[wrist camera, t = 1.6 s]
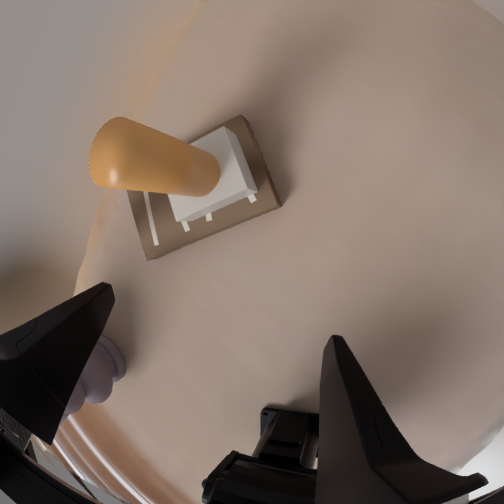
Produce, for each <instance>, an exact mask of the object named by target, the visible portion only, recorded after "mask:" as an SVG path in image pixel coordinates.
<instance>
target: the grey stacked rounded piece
mask: <svg viewBox="0 0 504 504" xmlns="http://www.w3.org/2000/svg"><path fill="white" fill-rule="evenodd" d="M125 371H126V368H125V362H124V359H123V357H122V355H121V353H120V351H119V349H118V348H117V347H116V345H115V344H114V343H113V342H112V341H111V340H110V339H108V338H106V337H105V336H100V338H99V339H98V341H97V343H96V345H95V347H94V349H93V351H92V353H91V355H90V357H89V359H88V361H87V363H86V365H85V367H84V369H83V371H82V373H81V375H80V378H79V380H78V382H77V384H76V386H75V388H74V391H73V393H72V395H71V397H70V400H69V402H68V404H67V407H66V409H65V412H64V414H63V416H62V419H61V421H60V424H59V425H61V424H62V423H63V421H64V420H65V419H66V418H67V417H68V415H69V414H72V413H75V412H77V411H78V410H80V408H81V407H82V405H83V403H84V401H86V402H88V403H101V402H104V401H105V400H106V399H107V398H108V397H109V396H110V394H111V392H112V386H113V383H114V382H117V381H118V380H120V379H121V378H123V376H124V375H125Z"/></svg>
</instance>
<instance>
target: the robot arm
mask: <svg viewBox="0 0 504 504" xmlns="http://www.w3.org/2000/svg"><path fill="white" fill-rule="evenodd" d="M114 303H115V297H114V293H113V289H112V286H111V284H108V283H105V282H101V283H99V284H97V285H95V286H93V287H92V288H90V289H88V290H86V291H84V292H82V293H80V294H78V295H76V296H74V297H72V298H71V299H69V300H67V301H65V302H63V303H61V304H60V305H58V306H56V307H54V308H52V309H50V310H48V311H47V312H45V313H43V314H41V315H39V317H36V318H34V319H32V320H30V321H28V322H27V323H25V324H23V325H21V326H19V327H17V328H15V329H12V330H10V331H8V332H6V333H4V334H1V335H0V489H1V490H2V491H3V492H4V493H5V494H7V495H8V496H9V497H10V498H11V499H12V500H13V501H14V502H15V503H17V504H103V503H101V502H99V501H97V500H95V499H94V498H92V497H90V496H88V495H86V494H84V493H83V492H81V491H79V490H77V489H75V488H74V487H72V486H71V485H69V484H67V483H66V482H64V481H63V480H61V479H60V478H58V477H56V476H55V475H54V474H52V473H51V472H49V471H48V470H46V469H45V468H44V467H42V466H41V465H39V464H38V463H37V460H36V456H35V453H34V450H33V446H32V442H31V440H30V439H31V437H32V435H33V434H34V435H35V436H37V437H38V438H40V439H41V440H43V441H44V442H45V443H47V444H48V445H50V446H51V444H52V442H53V439H54V437H55V434H56V432H57V429H58V426H59V424H60V421H61V419H62V416H63V414H64V412H65V409H66V407H67V404H68V402H69V400H70V397H71V395H72V393H73V391H74V388H75V386H76V384H77V382H78V380H79V378H80V375H81V373H82V371H83V369H84V367H85V365H86V363H87V361H88V359H89V357H90V355H91V353H92V351H93V349H94V347H95V345H96V343H97V341H98V339H99V338H100V336H101V334H102V332H103V329H104V327H105V324H106V322H107V320H108V317H109V315H110V312H111V310H112V308H113V305H114ZM265 412H267V413H265ZM317 457H318V466H317V469H313V466H314V462H315V458H317ZM488 483H489V482H488V480H487V479H486V478H485V477H484V476H483V475H481V474H479V473H475V474H472V475H470V476H459V475H456V474H453V473H451V472H449V471H446V470H444V469H442V468H439V467H437V466H435V465H433V464H430V463H428V462H426V461H424V460H423V459H421V458H420V457H419V456H418V455H417V454H416V453H415V452H414V451H413V449H412V448H411V447H410V445H409V444H408V442H407V441H406V440H405V438H404V437H403V435H402V434H401V433H400V431H399V430H398V428H397V427H396V425H395V424H394V422H393V421H392V419H391V418H390V416H389V414H388V413H387V411H386V409H385V407H384V406H383V405H382V402H381V401H380V399H379V397H378V395H377V394H376V392H375V390H374V388H373V387H372V385H371V383H370V382H369V380H368V378H367V377H366V375H365V373H364V371H363V370H362V368H361V366H360V365H359V363H358V361H357V360H356V358H355V356H354V355H353V353H352V351H351V350H350V348H349V346H348V345H347V343H346V342H345V340H344V338H343V337H342V336H339V335H332V336H331V337H330V339H329V341H328V342H327V344H326V346H325V348H324V352H323V362H322V371H321V380H320V411H319V414H312V413H302V412H293V411H285V410H278V409H271V408H263V409H262V411H261V438H260V440H259V442H258V444H257V446H256V448H255V450H254V452H253V454H252V456H248V455H245V454H241V453H239V452H237V451H234V450H232V452H231V453H230V454H229V455H227V456H226V457H225V458H224V459H223V460H222V462H221V463H220V464H219V465H218V466H217V467H216V468H215V469H214V470H213V471H212V472H211V473H210V475H209V476H208V478H206V479H204V480H203V482H202V487H203V489H204V491H203V495H202V502H203V503H204V504H504V486H503V487H501V488H499V489H496V490H494V491H492V492H490V493H488V494H485V495H483V496H480V497H478V498H476V499H473V500H470V501H469V494H468V493H470V492H472V491H474V490H476V489H478V488H481V487H483V486H485V485H487V484H488Z"/></svg>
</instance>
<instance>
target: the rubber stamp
mask: <svg viewBox="0 0 504 504" xmlns="http://www.w3.org/2000/svg"><path fill="white" fill-rule="evenodd" d="M89 170H90V174H91V177H92V179H93V180H94V182H95V183H96V184H97V185H98V186H100V187H104V188H115V189H126V190H136V191H146V192H155V193H164V194H168V197H169V200H170V203H171V207H172V210H173V213H174V216H175V219H176V222H180V221H194V220H196V219H198V218H200V217H203V216H205V215H207V214H209V213H211V212H214V211H216V210H218V209H220V208H222V207H225V206H227V205H229V204H232V203H234V202H236V201H238V200H241V199H243V198H245V197H248V196H250V195H252V194H255V193H257V192H258V190H257V187H256V185H255V182H254V180H253V177H252V174H251V172H250V169H249V166H248V164H247V161H246V159H245V156H244V154H243V151H242V148H241V146H240V143H239V141H238V138H237V136H236V134H234V133H233V132H231V131H230V130H229V129H227V128H226V127H225V126H223V127H221V128H219V129H217V130H215V131H213V132H211V133H209V134H208V135H206V136H204V137H202V138H200V139H198V140H197V141H195V142H193V143H191V144H188V143H186V142H184V141H181V140H179V139H177V138H174V137H172V136H170V135H167V134H165V133H162V132H160V131H157V130H155V129H152V128H150V127H147V126H145V125H142V124H140V123H137V122H135V121H132V120H129V119H127V118H124V117H116V118H113V119H111V120H110V121H108V122H107V123H105V124H104V125H103V126H102V128H101V129H100V130H99V132H98V133H97V135H96V136H95V138H94V141H93V143H92V146H91V149H90V154H89Z"/></svg>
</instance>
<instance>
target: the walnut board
mask: <svg viewBox="0 0 504 504" xmlns="http://www.w3.org/2000/svg"><path fill="white" fill-rule="evenodd" d="M223 126H225V127H226V128H227V129H229V130H230V131H231V132H233V133H234V134H236V136H237V138H238V141H239V143H240V146H241V148H242V151H243V154H244V156H245V159H246V161H247V164H248V166H249V169H250V172H251V174H252V177H253V180H254V182H255V185H256V187H257V190H258V192H257V193H255V194H252V195H250V196H248V197H245V198H243V199H241V200H238V201H236V202H234V203H232V204H229V205H227V206H225V207H222V208H220V209H218V210H216V211H214V212H211V213H209V214H207V215H205V216H203V217H200V218H198V219H196V220H194V221H180V222H176V219H175V216H174V213H173V210H172V207H171V203H170V200H169V197H168V194H164V193H155V192H146V191H136V190H127V193H128V197H129V201H130V205H131V208H132V212H133V216H134V219H135V223H136V226H137V230H138V233H139V236H140V240H141V243H142V246H143V249H144V252H145V256H146V259H147V261H148V260H153V259H157V258H159V257H162V256H164V255H166V254H168V253H171V252H173V251H175V250H178V249H180V248H182V247H185V246H187V245H189V244H192V243H194V242H196V241H199V240H201V239H204V238H206V237H208V236H211V235H213V234H215V233H218V232H220V231H223V230H225V229H228V228H230V227H232V226H235V225H237V224H240V223H242V222H245V221H247V220H250V219H252V218H255V217H257V216H260V215H262V214H265V213H267V212H270V211H272V210H275V209H277V208H280V207H282V206H281V203H280V200H279V198H278V195H277V192H276V190H275V187H274V185H273V182H272V179H271V177H270V174H269V172H268V169H267V167H266V164H265V162H264V159H263V157H262V154H261V152H260V149H259V147H258V145H257V142H256V140H255V137H254V135H253V132H252V130H251V128H250V125H249V123H248V121H247V120H246V119H245V118H244V117H243V116H242V115H239V116H237V117H235V118H233V119H231V120H229V121H227V122H225V123H223V124H221V125H219V126H217V127H216V128H214V129H212V130H210V131H208V132H206V133H204V134H203V135H201V136H199V137H197V138H195V139H194V140H192V141H190V142H188V144H191V143H193V142H195V141H197V140H198V139H200V138H202V137H204V136H206V135H208V134H209V133H211V132H213V131H215V130H217V129H219V128H221V127H223Z"/></svg>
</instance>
